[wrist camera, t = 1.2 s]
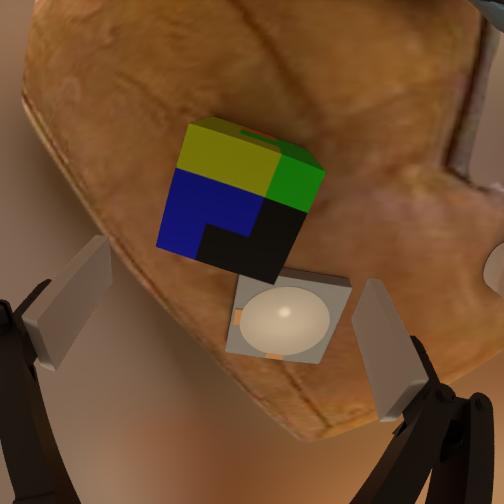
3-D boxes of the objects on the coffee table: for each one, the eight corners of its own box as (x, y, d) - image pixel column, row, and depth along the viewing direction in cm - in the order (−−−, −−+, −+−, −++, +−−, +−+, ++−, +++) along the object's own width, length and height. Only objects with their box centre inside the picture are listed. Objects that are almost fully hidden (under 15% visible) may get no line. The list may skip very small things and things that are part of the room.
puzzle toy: (183, 204, 33) (155, 246, 24) (211, 115, 29) (189, 123, 20) (271, 234, 34) (273, 285, 25) (306, 149, 30) (325, 171, 21)
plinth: (241, 260, 36) (240, 270, 34) (348, 278, 36) (352, 289, 34) (226, 341, 42) (224, 352, 40) (316, 353, 42) (318, 365, 40)
